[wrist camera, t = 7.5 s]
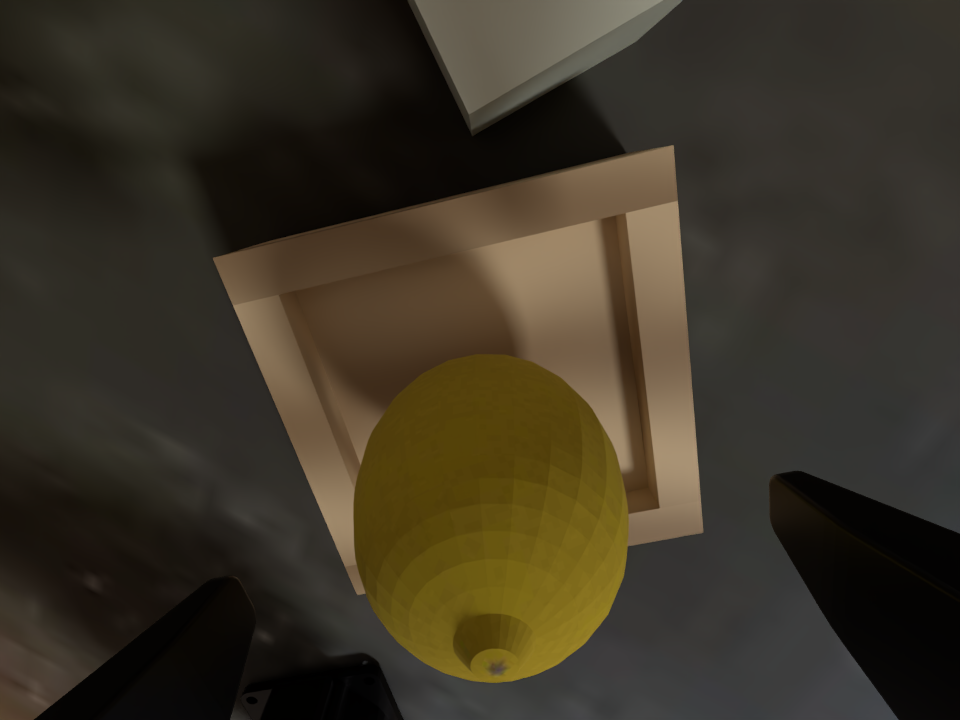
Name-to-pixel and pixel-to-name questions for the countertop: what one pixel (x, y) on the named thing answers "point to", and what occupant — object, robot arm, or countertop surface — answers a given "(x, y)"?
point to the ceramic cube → (525, 46)
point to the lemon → (490, 519)
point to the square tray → (487, 322)
